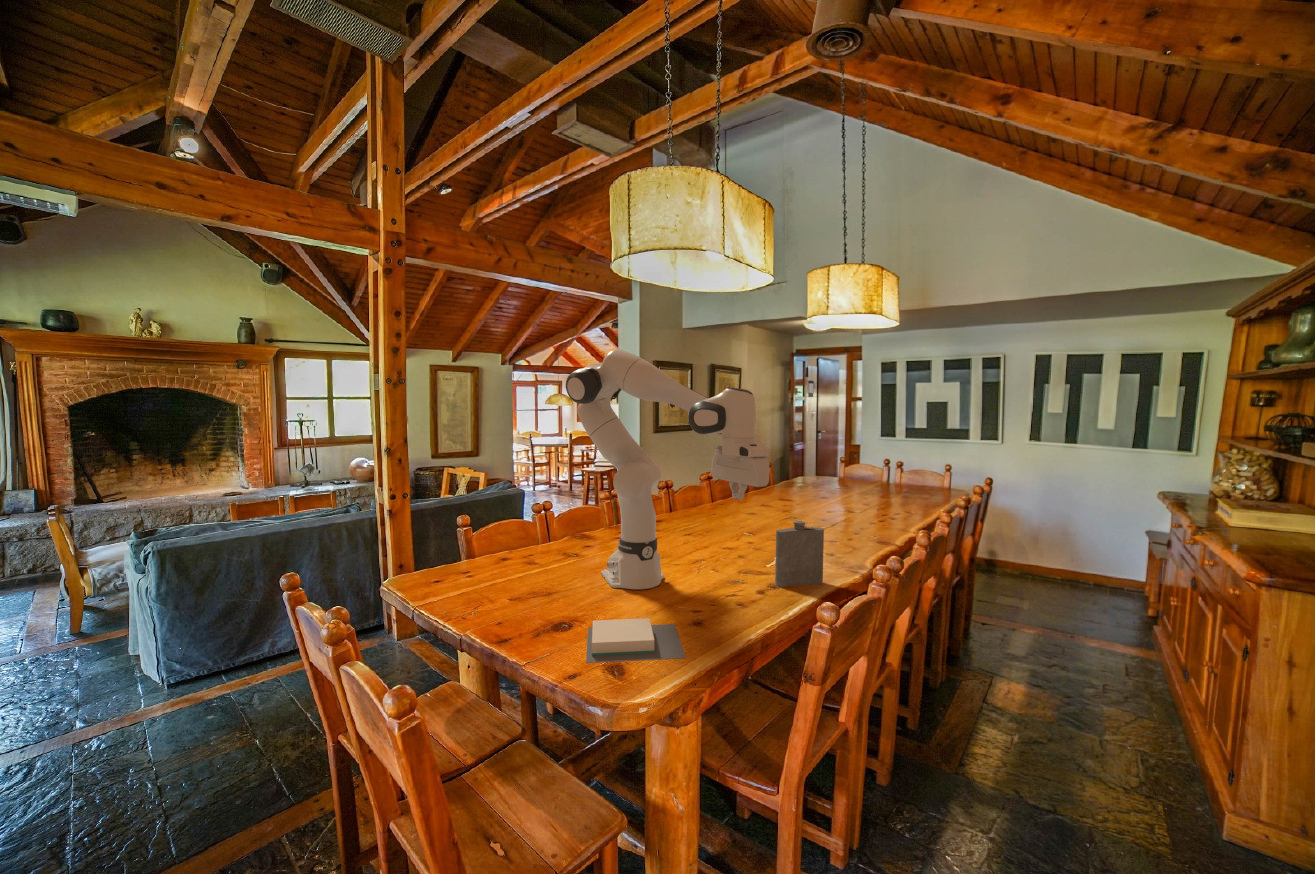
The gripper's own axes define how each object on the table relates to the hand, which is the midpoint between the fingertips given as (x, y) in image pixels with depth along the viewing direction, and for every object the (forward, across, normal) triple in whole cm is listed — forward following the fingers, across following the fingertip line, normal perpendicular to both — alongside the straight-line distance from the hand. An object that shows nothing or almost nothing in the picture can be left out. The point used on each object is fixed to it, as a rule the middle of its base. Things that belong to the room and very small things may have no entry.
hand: (738, 498), depth 139 cm
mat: (+31, +2, -33) cm, 46 cm away
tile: (+29, +4, -30) cm, 42 cm away
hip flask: (+31, -7, +31) cm, 45 cm away
